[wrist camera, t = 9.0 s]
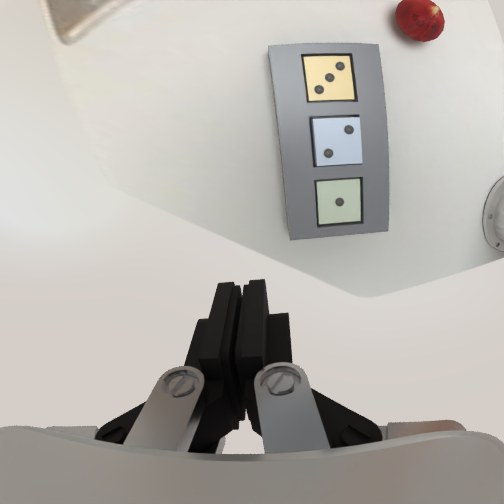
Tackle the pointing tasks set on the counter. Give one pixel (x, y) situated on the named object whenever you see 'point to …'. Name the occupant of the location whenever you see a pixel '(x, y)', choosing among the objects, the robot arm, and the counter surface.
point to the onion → (420, 19)
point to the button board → (301, 146)
